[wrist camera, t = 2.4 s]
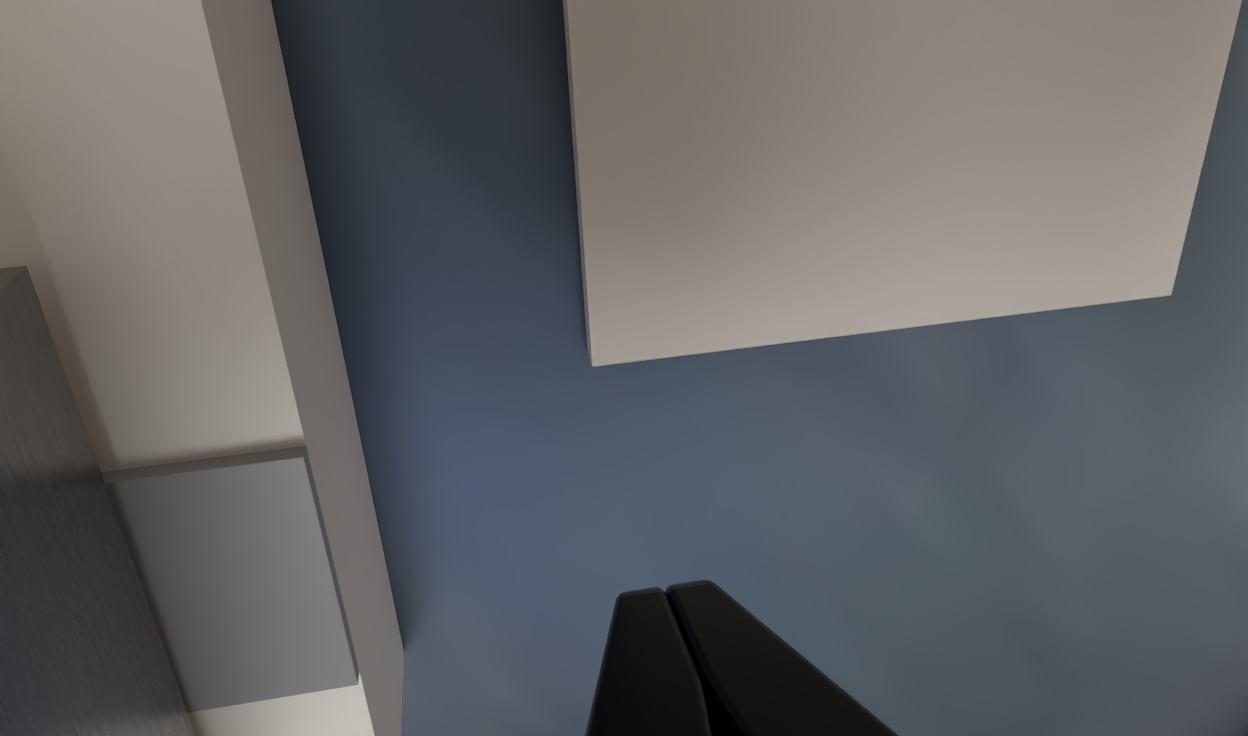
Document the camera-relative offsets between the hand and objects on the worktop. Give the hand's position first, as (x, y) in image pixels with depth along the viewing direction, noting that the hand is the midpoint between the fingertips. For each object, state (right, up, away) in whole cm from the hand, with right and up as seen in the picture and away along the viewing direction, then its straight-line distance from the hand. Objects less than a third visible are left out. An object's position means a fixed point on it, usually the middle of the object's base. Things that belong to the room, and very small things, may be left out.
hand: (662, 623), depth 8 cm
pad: (+3, +7, +2) cm, 8 cm away
